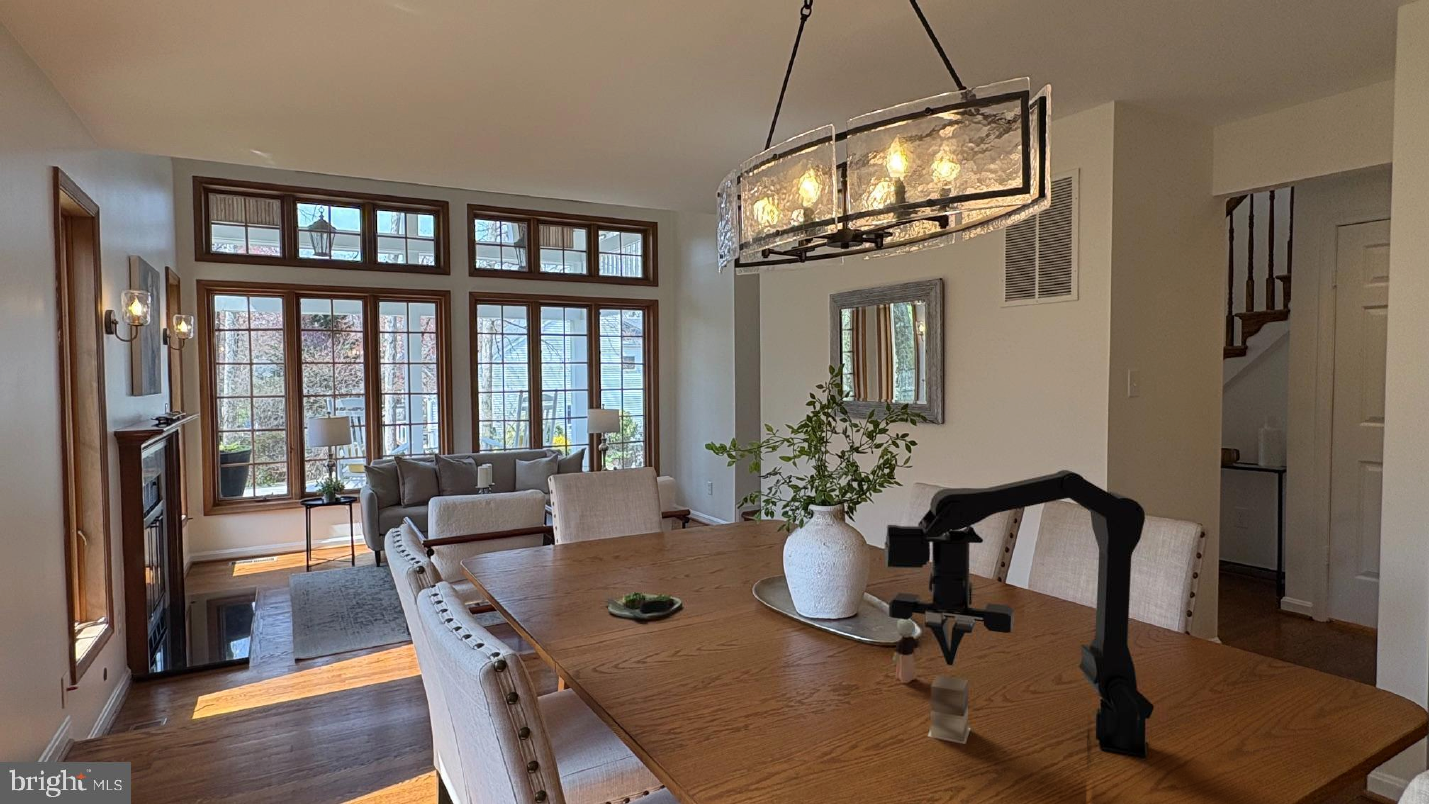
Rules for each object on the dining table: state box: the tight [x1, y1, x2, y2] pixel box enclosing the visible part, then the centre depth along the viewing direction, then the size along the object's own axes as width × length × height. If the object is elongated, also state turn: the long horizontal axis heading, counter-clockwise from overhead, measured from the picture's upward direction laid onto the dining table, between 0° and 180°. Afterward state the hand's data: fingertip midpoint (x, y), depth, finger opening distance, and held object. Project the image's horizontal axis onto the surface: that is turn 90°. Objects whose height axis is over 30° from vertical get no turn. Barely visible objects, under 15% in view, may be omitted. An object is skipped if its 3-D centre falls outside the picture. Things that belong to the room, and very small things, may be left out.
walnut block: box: [930, 674, 969, 717], centre depth 124 cm, size 5×5×4 cm
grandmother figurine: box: [892, 618, 921, 684], centre depth 145 cm, size 8×4×13 cm, turn 141°
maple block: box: [930, 705, 969, 742], centre depth 124 cm, size 5×5×4 cm
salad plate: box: [604, 591, 683, 621], centre depth 193 cm, size 19×18×5 cm
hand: (950, 664), depth 124 cm, fingers closed
